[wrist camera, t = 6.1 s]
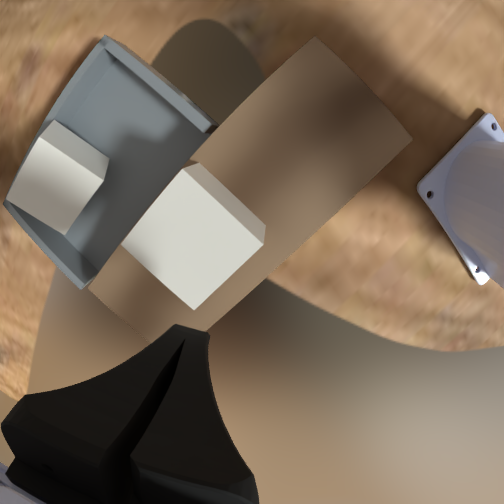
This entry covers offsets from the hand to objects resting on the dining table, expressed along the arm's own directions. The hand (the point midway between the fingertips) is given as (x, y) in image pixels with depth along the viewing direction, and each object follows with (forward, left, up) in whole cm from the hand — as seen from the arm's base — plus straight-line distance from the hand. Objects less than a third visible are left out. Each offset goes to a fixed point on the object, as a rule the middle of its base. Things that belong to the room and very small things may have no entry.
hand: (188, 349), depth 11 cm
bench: (+2, -3, -9) cm, 10 cm away
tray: (+10, +1, -9) cm, 14 cm away
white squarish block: (+10, +2, -5) cm, 12 cm away
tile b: (+3, -2, -6) cm, 7 cm away
